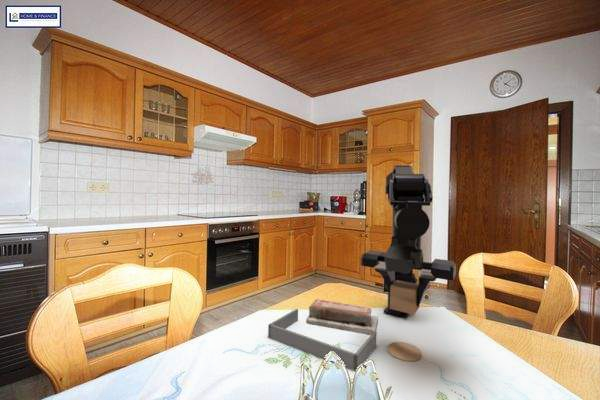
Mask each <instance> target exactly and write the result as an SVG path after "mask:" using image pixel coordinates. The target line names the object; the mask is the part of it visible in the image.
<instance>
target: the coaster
mask: <svg viewBox="0 0 600 400" xmlns="http://www.w3.org/2000/svg"><path fill="white" fill-rule="evenodd" d="M387 352H388V353H389V355H390V356H392V357H394V358H396V359H397V360H400V361H404V362H417V361H419V360H421V359H422V356H423V354H422V351H421V349H420V348H418V347H417V346H415V345H413V344H410V343H408V342H403V341H394V342H390V343H389V344H388V345H387Z"/></svg>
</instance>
